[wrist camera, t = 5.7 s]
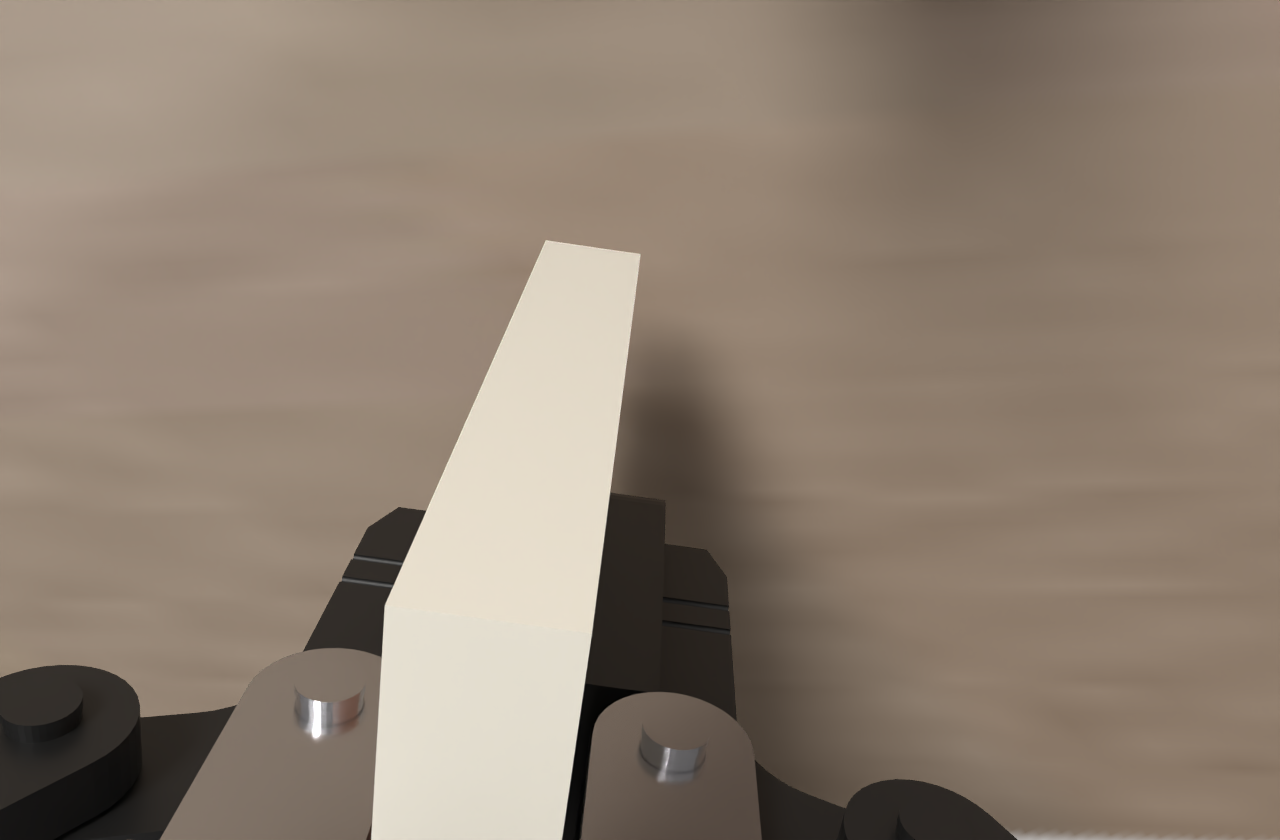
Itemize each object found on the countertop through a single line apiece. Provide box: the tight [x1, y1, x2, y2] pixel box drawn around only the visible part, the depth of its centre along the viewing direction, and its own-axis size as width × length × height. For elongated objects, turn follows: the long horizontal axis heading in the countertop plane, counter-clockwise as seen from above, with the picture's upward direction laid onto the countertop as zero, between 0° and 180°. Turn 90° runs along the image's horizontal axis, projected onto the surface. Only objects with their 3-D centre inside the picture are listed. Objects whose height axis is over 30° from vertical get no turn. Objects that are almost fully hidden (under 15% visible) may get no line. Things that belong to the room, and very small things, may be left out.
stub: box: [371, 240, 641, 840], centre depth 10 cm, size 6×1×7 cm, turn 172°
